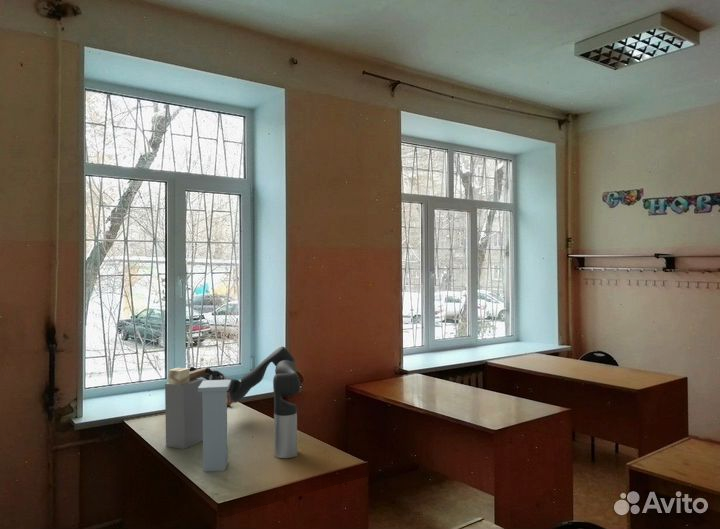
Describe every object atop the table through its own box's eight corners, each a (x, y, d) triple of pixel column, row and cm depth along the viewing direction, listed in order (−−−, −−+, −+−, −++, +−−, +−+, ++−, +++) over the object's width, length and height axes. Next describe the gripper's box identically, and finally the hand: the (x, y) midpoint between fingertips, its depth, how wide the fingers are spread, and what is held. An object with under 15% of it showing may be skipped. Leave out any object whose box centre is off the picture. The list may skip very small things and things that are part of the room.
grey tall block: (184, 437, 238) (184, 377, 238) (202, 439, 234) (202, 379, 234) (165, 446, 227) (165, 383, 226) (184, 449, 223) (183, 385, 223)
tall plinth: (232, 458, 212) (231, 379, 212) (228, 470, 200) (227, 386, 200) (204, 460, 211) (202, 380, 210) (199, 472, 199) (197, 387, 198)
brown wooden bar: (212, 374, 244) (212, 361, 244) (179, 385, 223) (179, 371, 223) (202, 373, 246) (202, 360, 246) (168, 384, 226) (168, 370, 226)
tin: (232, 406, 286) (232, 391, 286) (227, 408, 284) (227, 392, 284) (217, 401, 297) (217, 386, 297) (212, 403, 294) (212, 387, 294)
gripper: (227, 389, 248) (208, 378, 234) (203, 386, 253) (182, 376, 240) (232, 373, 251) (213, 362, 238) (207, 371, 256) (188, 360, 243)
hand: (198, 369), depth 239 cm, fingers open, 8 cm apart
